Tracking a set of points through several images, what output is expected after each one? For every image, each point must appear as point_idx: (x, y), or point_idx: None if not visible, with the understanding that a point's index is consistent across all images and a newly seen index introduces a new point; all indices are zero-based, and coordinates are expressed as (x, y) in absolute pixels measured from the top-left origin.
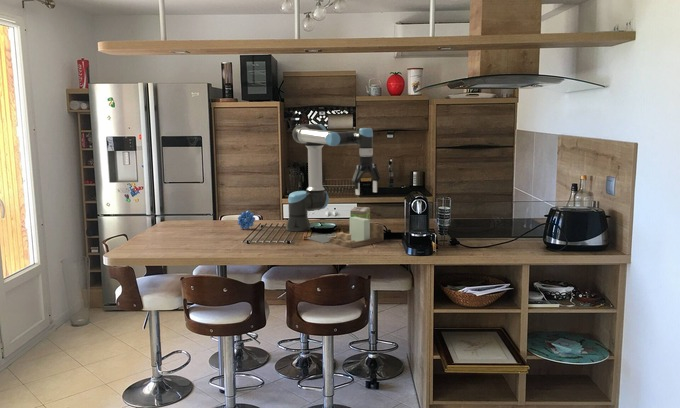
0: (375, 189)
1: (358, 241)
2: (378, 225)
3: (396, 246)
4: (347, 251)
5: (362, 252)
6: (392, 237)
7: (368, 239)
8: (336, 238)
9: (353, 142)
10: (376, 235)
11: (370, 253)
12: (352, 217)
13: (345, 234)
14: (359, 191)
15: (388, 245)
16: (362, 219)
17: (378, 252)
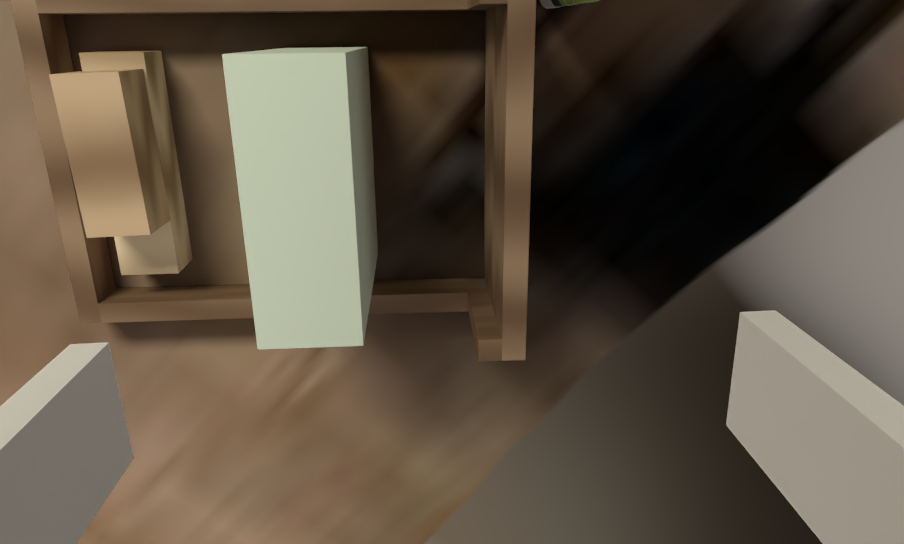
0: (767, 449)
1: (193, 310)
2: (501, 307)
3: (443, 482)
4: (20, 372)
5: None
6: (659, 252)
7: None
8: (81, 54)
9: None
10: (489, 240)
11: (146, 511)
12: (259, 86)
13: (95, 196)
14: (81, 521)
15: (418, 427)
16: (286, 289)
17: (214, 523)
